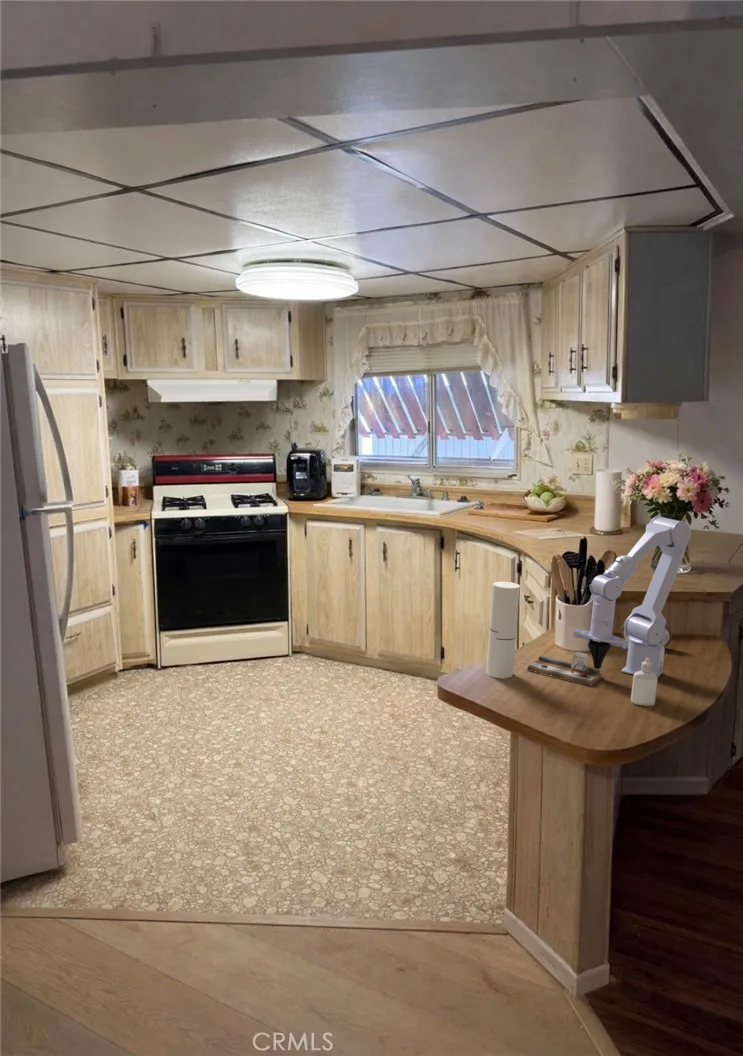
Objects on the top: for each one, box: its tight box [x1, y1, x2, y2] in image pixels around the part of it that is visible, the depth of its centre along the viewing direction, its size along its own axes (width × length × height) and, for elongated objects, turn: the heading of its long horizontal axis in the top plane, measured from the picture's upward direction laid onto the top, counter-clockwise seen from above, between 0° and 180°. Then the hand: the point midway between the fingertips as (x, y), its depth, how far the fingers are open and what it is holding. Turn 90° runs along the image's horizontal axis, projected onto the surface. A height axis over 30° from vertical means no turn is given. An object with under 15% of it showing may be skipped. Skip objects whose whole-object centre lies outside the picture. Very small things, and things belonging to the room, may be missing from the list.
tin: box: [620, 621, 673, 649], centre depth 235 cm, size 15×3×8 cm, turn 72°
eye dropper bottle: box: [630, 658, 658, 707], centre depth 189 cm, size 4×6×12 cm
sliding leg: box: [571, 651, 589, 673], centre depth 207 cm, size 3×7×4 cm, turn 146°
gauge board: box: [527, 655, 603, 687], centre depth 208 cm, size 18×9×3 cm, turn 56°
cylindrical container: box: [485, 581, 521, 679], centre depth 204 cm, size 7×7×25 cm
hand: (597, 667), depth 206 cm, fingers closed
